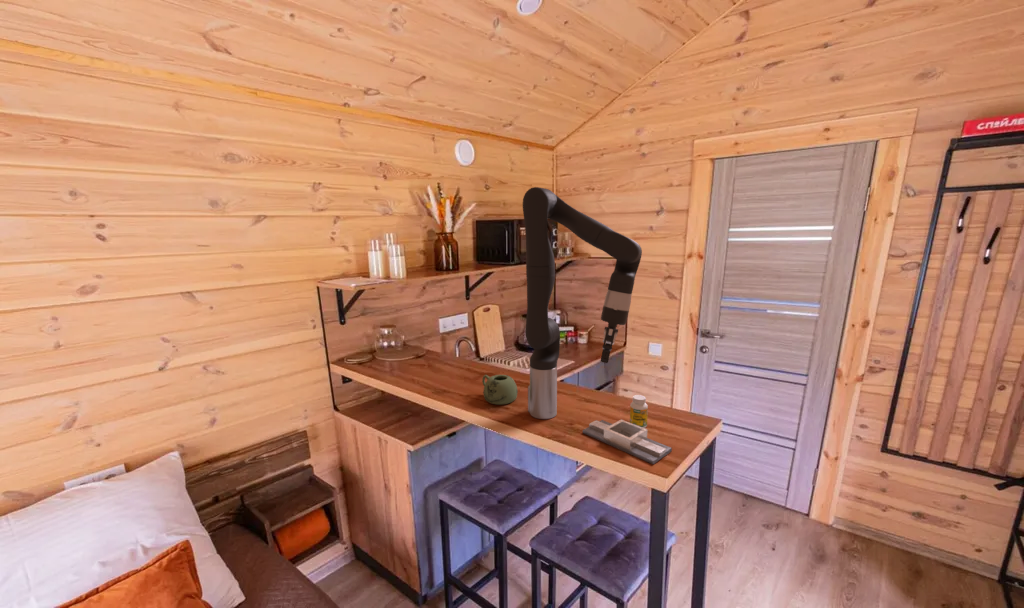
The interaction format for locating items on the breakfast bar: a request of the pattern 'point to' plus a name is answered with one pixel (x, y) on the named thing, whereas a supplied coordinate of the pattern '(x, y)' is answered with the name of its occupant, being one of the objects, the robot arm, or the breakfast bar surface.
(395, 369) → the breakfast bar surface
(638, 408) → the supplement bottle
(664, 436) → the breakfast bar surface
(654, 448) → the rail collar
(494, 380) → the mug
